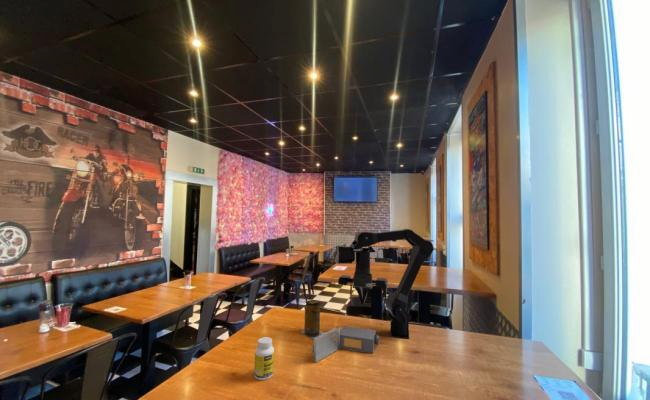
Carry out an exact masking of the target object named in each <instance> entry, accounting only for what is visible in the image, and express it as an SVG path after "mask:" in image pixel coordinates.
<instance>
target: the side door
mask: <svg viewBox="0 0 650 400" xmlns="http://www.w3.org/2000/svg"><path fill="white" fill-rule="evenodd" d="M311 351H312V353H313V362H314V363H318V362H319V361H321V360H322V359H324V358H326V357H327V356H330V355H331V354H333V353H335V352H336V351H339V350H338V329H337V327H334V328H331V329H330V330H329V331H326V332H324V334H322V335H320V336H318V337H316V338H313V345H312V350H311Z"/></svg>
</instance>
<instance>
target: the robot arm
mask: <svg viewBox="0 0 650 400" xmlns="http://www.w3.org/2000/svg"><path fill="white" fill-rule="evenodd" d="M399 240H405V241H406V242H407V243H408V244H409V245H410V246H411V250H410V251H411V252H410V260H409V262H408V264H407V266H406V269H405V270H404V272H403V275H402V277H401V279H400V282H399V283H398V286H397V288H396V289H395V291H393V292H392V291H391V290H390V291H389V293H388V295H387V298H386V299H385V308H386V309H387V310H388V311H389V313H390V315H391V320H390V333H391V336H392V337H394V338H395V337H396V338H402V339H410V330H409V328H410V327H409V326H410V324H409V323H411V321H412V318H413V317H412V315H411V314H410V313H409V312H408V311H407V307H408V300H409V299H408V298H409V294H410V291H411V290H412V287H413V285H414V284H415V283H414V282H415V281H416V278H417V277H418V274H419V272H420V270H421V267H422V265H423V263H425V262H426V261H427V260H428V259H429V258H430V256H431V255H432V254H433V252H434V249H435V247H434V245H433V243H432V242H431V241H429V240H427V239H424V237H422V236H420V235H419V234H417V233H416V232H415V231H413V229H411V228H402V229H397V230H395V229H394V230H388V231H379V232H376V231H375V232H374V231H358V232H356V234H355V235H354V239H353V241H352V242H351V244H350V245H349V246H342V245H337V251H336V264H337V265H339V264H341V265H342V264H343V265H345V264H350V265H351V264H353V262H355V270H354V274H353V277H352V276H351V275H345V274H342V275H340V276H339V277H338V279H337V284H338V285H339V286H346V285H348V283H349V284H352V288H353V289H355V290H356V292H357V295H358V297H359V300H360V303H361V305H364V304H365V302H366V299H367V296H368V292H369V290H370V291H371V290H372V289H373V287H374V286H375V287H376V288H377V289H381V290H384V289H385V290H386V289H387V288H388V279H387V278H385V277H377V278H376V279H373V274H372V273H371V253H376V250H375V249H374V248H373V245H376V244H378V243H381V242H382V243H384V242H392V241H399Z"/></svg>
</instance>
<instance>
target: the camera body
mask: <svg viewBox="0 0 650 400" xmlns="http://www.w3.org/2000/svg"><path fill="white" fill-rule="evenodd" d="M336 328H337V329H338V350H337V351H339V350H340V349H344V350H350V351H355V352H362V353H367V354H368V353H369V354H374V351H375V347H376V346H378V345H379V340H380V337H379V334H376V333H377V331H376V329H367V328H362V327H355V326H346V325H345V326H344V325H343V326H342V329H341V327H339V326H337V327H336Z"/></svg>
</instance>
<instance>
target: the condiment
mask: <svg viewBox="0 0 650 400" xmlns="http://www.w3.org/2000/svg"><path fill="white" fill-rule="evenodd" d="M320 318H321V309H320V302H319V300H316V299H309V300H306V301H305V308H304V330H300V331H299V333H301V334H303V336H306V337H308V338H309V339H311V340H312V339H313V340H314V338H316V337H318V336H320V335H322V334H324V333H325V332H324V331H322V330H321V328H320V326H321V325H320V323H321V319H320Z"/></svg>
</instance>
